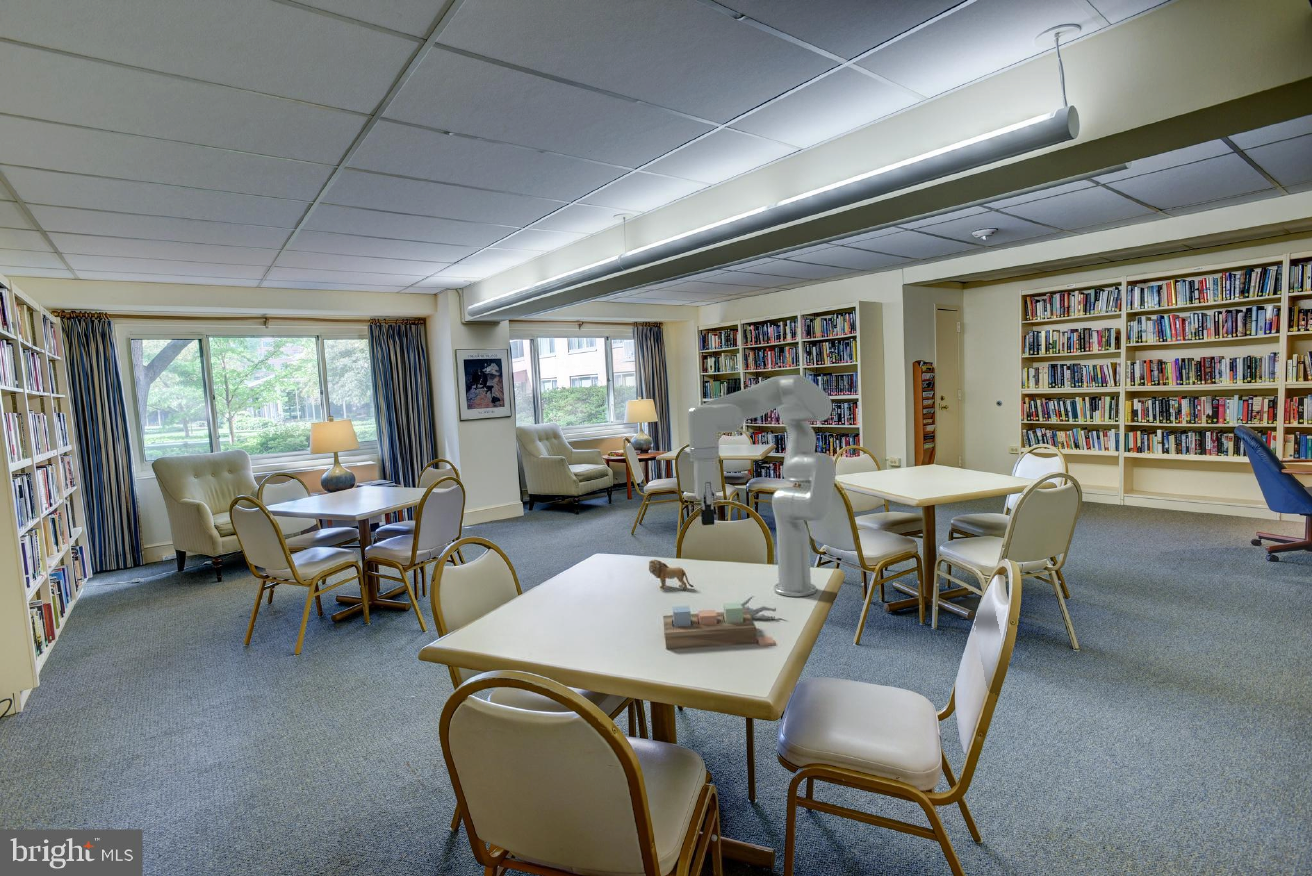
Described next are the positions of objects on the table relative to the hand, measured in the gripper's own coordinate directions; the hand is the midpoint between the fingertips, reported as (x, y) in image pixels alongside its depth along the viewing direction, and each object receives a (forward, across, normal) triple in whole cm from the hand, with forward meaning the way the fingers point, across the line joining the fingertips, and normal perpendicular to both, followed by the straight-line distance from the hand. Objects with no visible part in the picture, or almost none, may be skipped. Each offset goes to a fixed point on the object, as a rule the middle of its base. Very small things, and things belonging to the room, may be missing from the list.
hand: (708, 524), depth 162 cm
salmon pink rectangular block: (+27, +7, -2) cm, 27 cm away
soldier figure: (+27, -4, +11) cm, 30 cm away
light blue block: (+25, +7, -9) cm, 27 cm away
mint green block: (+25, +7, +5) cm, 26 cm away
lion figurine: (+27, -36, -10) cm, 46 cm away
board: (+27, +7, -2) cm, 28 cm away
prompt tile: (+27, +13, +11) cm, 32 cm away
